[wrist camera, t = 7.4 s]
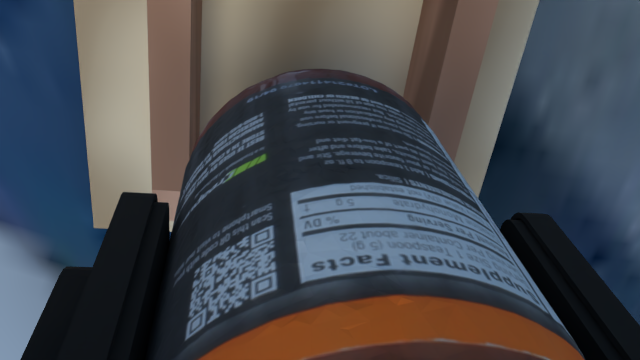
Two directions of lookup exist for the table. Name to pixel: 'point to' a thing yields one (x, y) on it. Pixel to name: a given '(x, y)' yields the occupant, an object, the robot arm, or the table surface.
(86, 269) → the robot arm
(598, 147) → the table surface
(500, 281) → the supplement bottle
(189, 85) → the bottle holder
